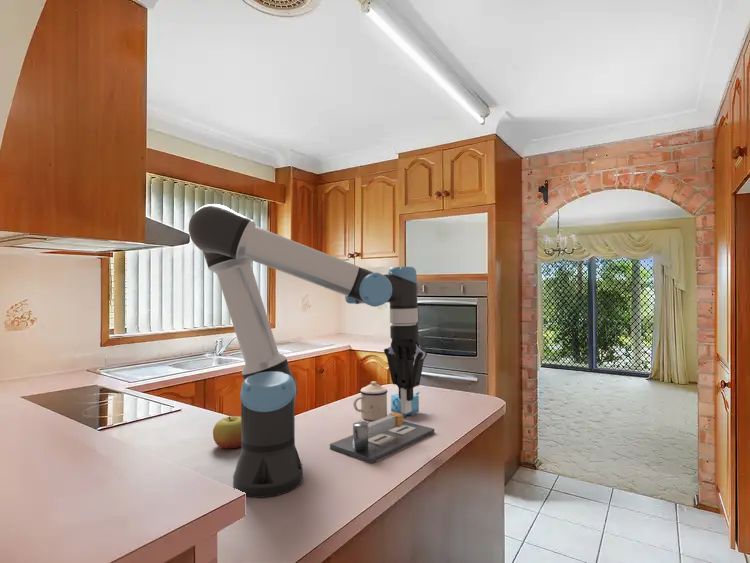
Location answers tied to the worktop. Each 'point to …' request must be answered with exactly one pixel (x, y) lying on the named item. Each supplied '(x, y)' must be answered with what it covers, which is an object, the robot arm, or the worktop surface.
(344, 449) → the plate
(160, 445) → the worktop surface
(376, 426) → the grey bar
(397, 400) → the teapot
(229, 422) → the apple
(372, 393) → the teacup with lid
